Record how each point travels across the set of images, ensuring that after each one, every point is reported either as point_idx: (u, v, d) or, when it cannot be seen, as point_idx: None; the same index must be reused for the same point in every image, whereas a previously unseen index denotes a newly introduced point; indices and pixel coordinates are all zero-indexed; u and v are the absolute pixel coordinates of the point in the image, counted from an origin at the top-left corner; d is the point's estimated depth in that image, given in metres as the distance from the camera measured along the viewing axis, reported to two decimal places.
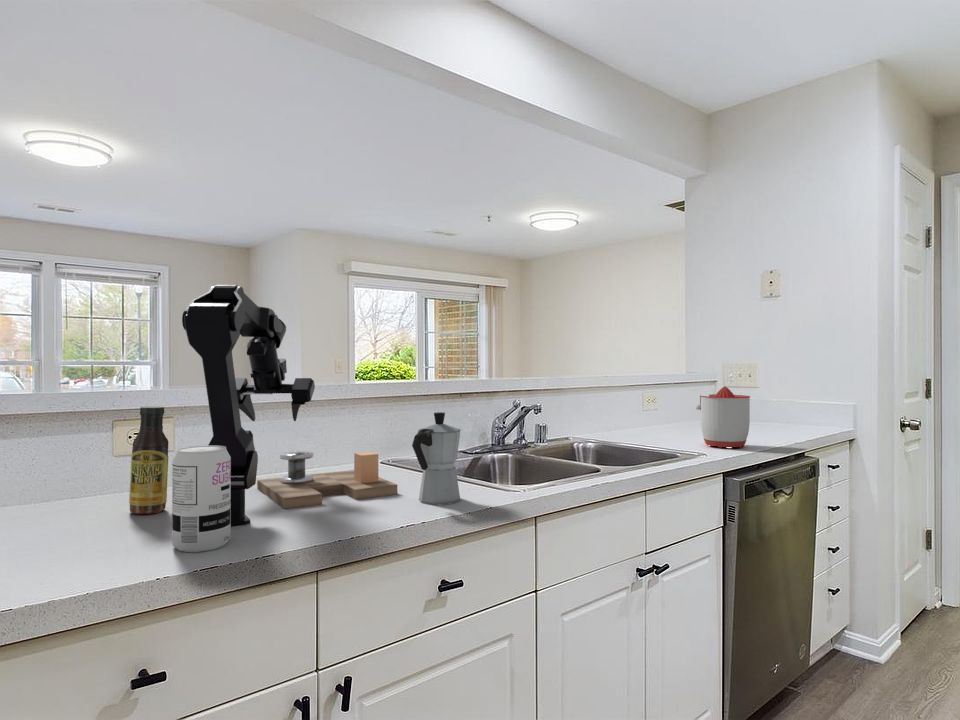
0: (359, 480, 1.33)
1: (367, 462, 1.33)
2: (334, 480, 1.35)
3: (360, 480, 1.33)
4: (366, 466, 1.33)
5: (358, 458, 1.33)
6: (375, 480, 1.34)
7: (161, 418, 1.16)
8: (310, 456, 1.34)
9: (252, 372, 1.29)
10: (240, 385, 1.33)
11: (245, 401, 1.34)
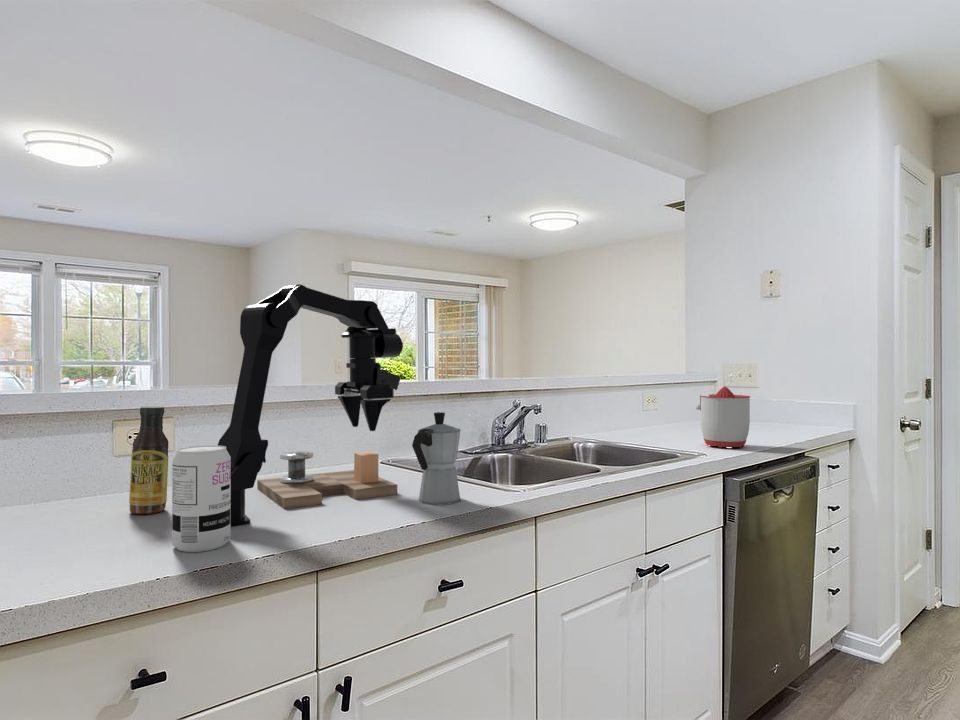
0: (359, 480, 1.33)
1: (367, 462, 1.33)
2: (334, 480, 1.35)
3: (360, 480, 1.33)
4: (366, 466, 1.33)
5: (358, 458, 1.33)
6: (375, 480, 1.34)
7: (161, 418, 1.16)
8: (310, 456, 1.34)
9: (348, 363, 1.36)
10: None
11: (348, 399, 1.39)
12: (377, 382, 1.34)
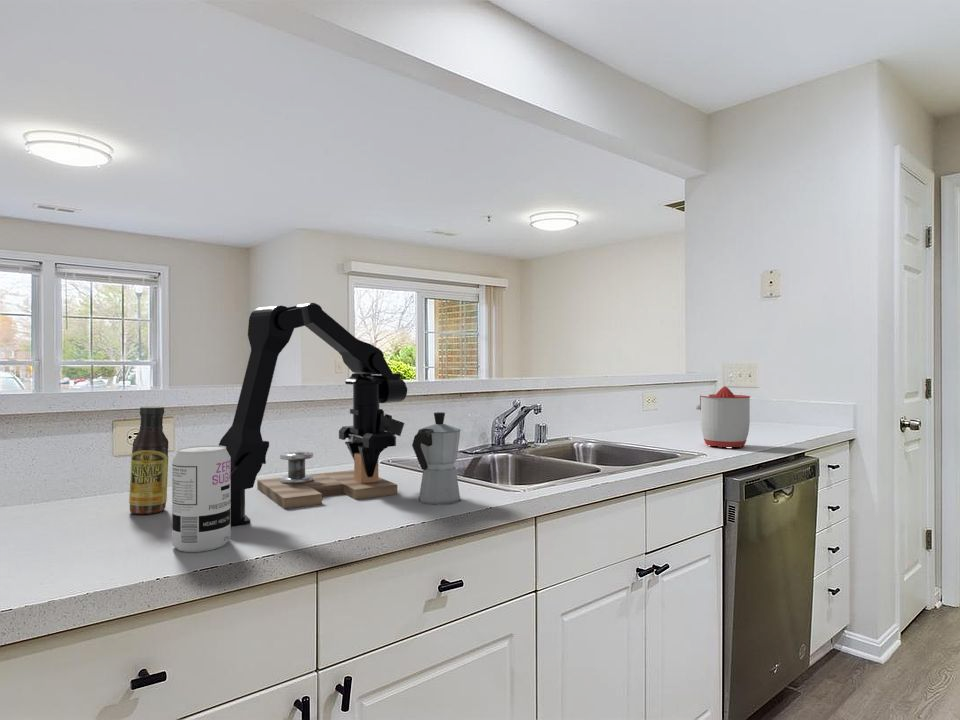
0: (359, 480, 1.33)
1: None
2: (334, 480, 1.35)
3: (360, 480, 1.33)
4: None
5: (358, 458, 1.33)
6: (375, 480, 1.34)
7: (161, 418, 1.16)
8: (310, 456, 1.34)
9: None
10: None
11: (355, 445, 1.36)
12: (380, 429, 1.34)
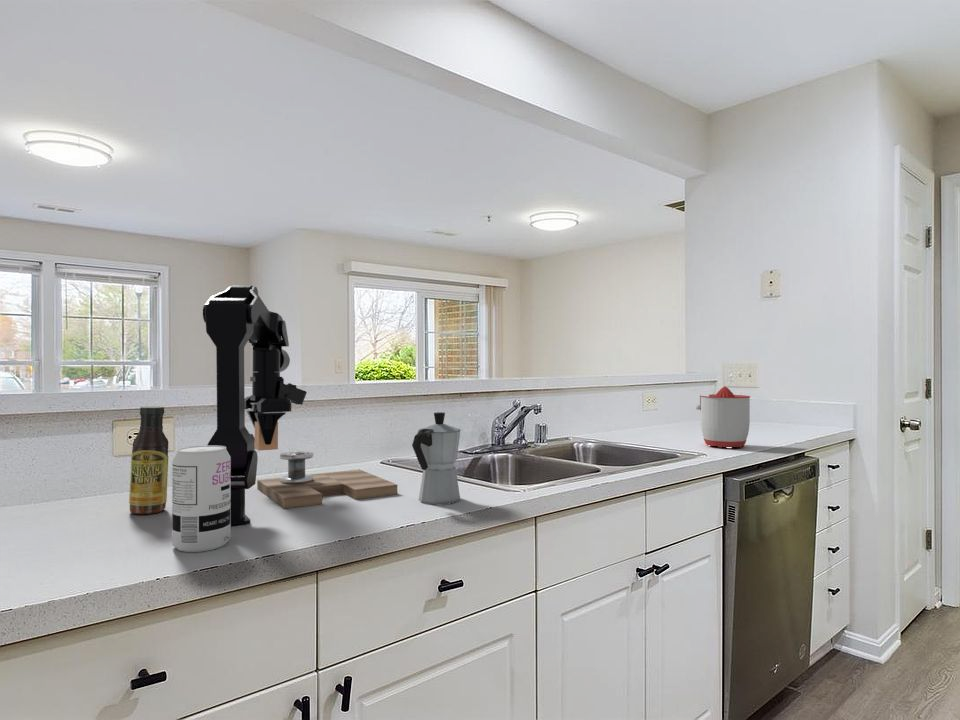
0: (258, 448, 1.32)
1: None
2: (334, 480, 1.35)
3: (258, 448, 1.31)
4: None
5: (257, 426, 1.32)
6: (274, 448, 1.33)
7: (161, 418, 1.16)
8: (310, 456, 1.34)
9: None
10: None
11: None
12: (279, 396, 1.33)
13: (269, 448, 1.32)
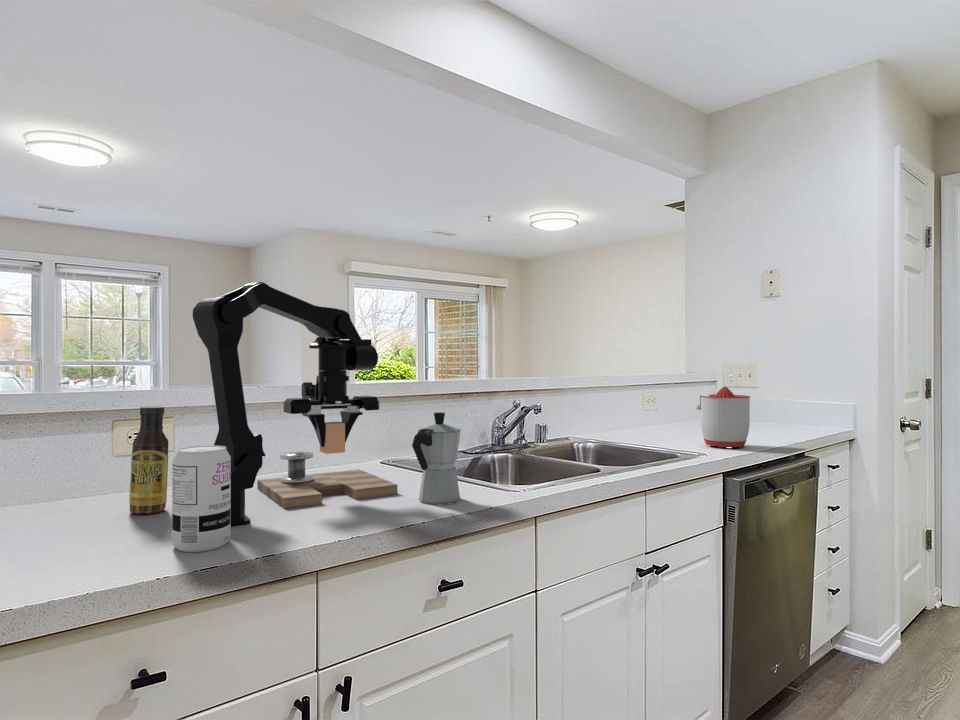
0: (341, 450, 1.26)
1: None
2: (334, 480, 1.35)
3: (343, 450, 1.26)
4: None
5: (338, 427, 1.26)
6: None
7: (161, 418, 1.16)
8: (310, 456, 1.34)
9: (326, 376, 1.24)
10: (306, 398, 1.23)
11: None
12: None
13: None
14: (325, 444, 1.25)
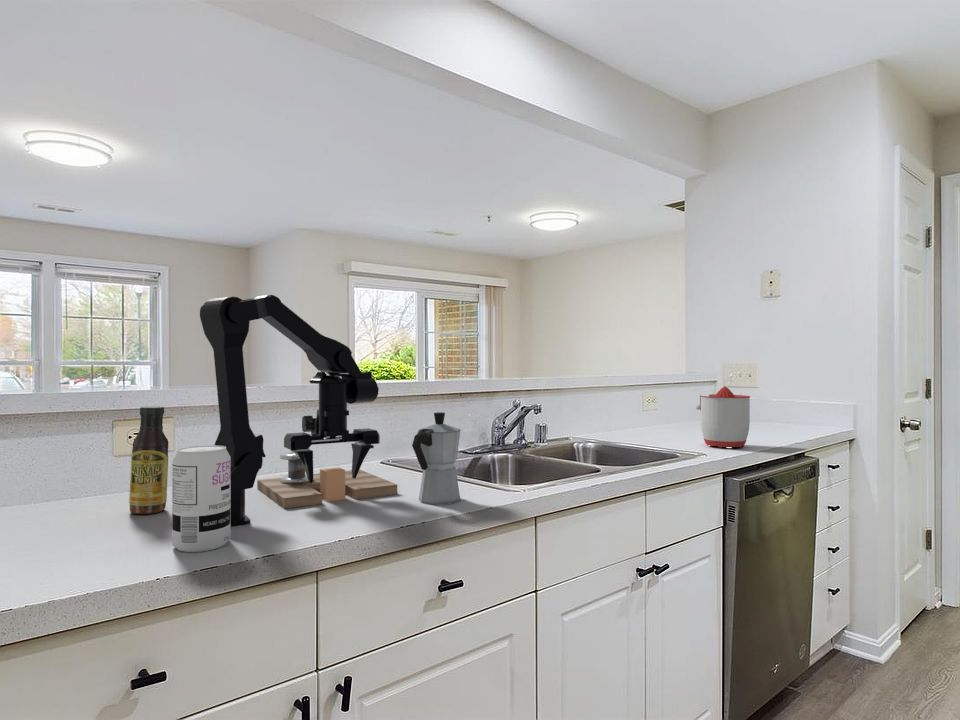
0: (341, 497, 1.26)
1: None
2: None
3: (343, 497, 1.26)
4: None
5: (338, 474, 1.25)
6: None
7: (161, 418, 1.16)
8: None
9: (326, 411, 1.24)
10: None
11: None
12: None
13: None
14: (325, 492, 1.25)
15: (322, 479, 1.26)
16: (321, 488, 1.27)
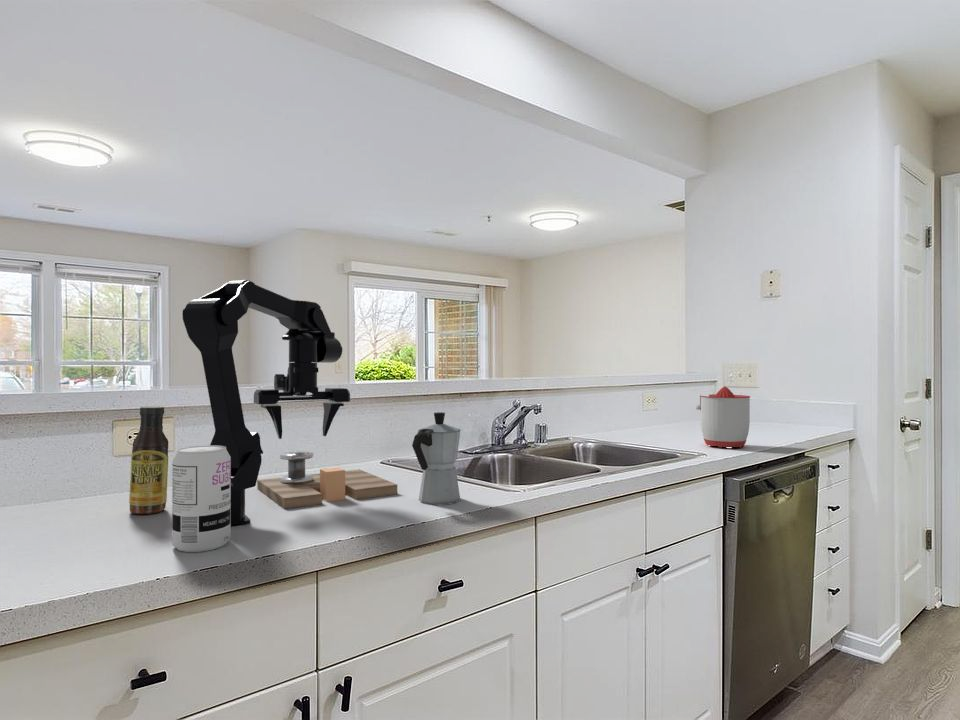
0: (341, 497, 1.26)
1: None
2: None
3: (343, 497, 1.26)
4: None
5: (338, 474, 1.25)
6: None
7: (161, 418, 1.16)
8: (310, 456, 1.34)
9: (295, 367, 1.25)
10: None
11: None
12: None
13: None
14: (325, 492, 1.25)
15: (322, 479, 1.26)
16: (321, 488, 1.27)
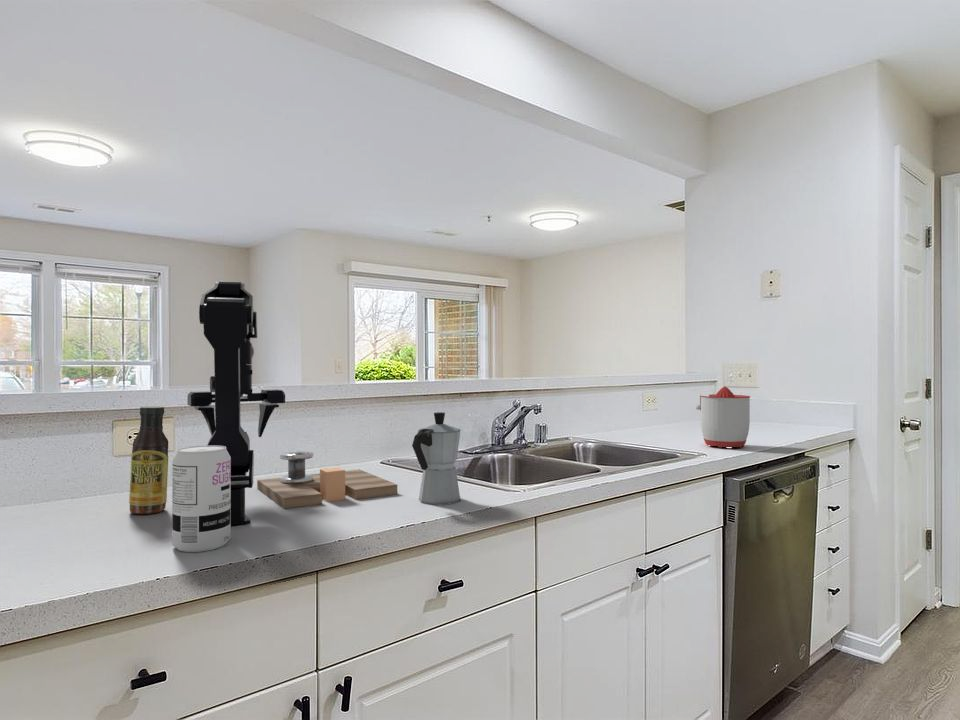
0: (341, 497, 1.26)
1: None
2: None
3: (343, 497, 1.26)
4: None
5: (338, 474, 1.25)
6: None
7: (161, 418, 1.16)
8: (310, 456, 1.34)
9: None
10: None
11: None
12: None
13: None
14: (325, 492, 1.25)
15: (322, 479, 1.26)
16: (321, 488, 1.27)
